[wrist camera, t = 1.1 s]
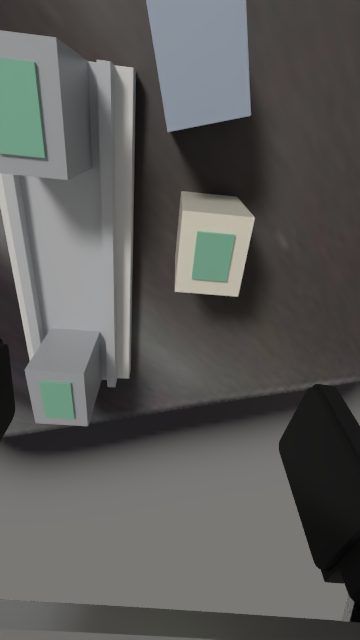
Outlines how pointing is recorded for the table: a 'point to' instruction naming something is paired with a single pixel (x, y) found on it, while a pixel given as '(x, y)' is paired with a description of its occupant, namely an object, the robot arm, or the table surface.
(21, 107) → the mounted module
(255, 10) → the table surface
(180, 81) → the block
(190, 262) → the block
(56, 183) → the rail base
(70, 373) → the mounted module
